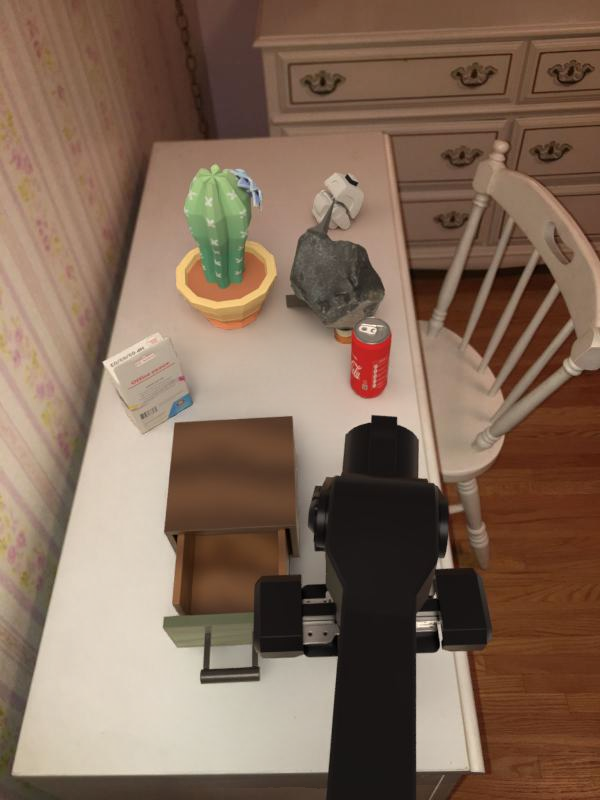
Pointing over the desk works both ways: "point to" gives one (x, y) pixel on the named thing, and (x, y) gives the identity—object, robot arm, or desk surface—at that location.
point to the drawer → (222, 593)
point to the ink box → (149, 381)
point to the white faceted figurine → (339, 200)
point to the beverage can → (370, 356)
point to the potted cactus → (224, 250)
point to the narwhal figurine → (334, 280)
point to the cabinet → (233, 478)
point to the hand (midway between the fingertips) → (365, 640)
